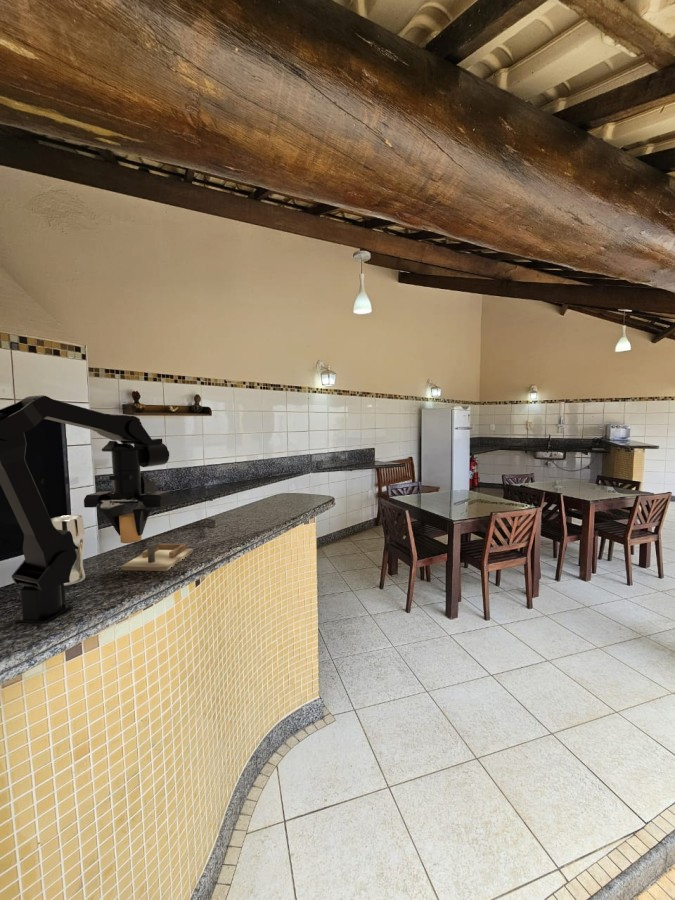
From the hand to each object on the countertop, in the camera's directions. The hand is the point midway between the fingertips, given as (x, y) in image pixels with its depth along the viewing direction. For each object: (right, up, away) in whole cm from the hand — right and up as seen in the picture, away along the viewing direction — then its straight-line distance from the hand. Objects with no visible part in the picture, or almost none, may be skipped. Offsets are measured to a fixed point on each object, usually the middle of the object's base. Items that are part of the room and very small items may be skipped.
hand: (130, 535), depth 93 cm
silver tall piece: (-14, -11, 0) cm, 18 cm away
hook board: (+1, -9, +12) cm, 15 cm away
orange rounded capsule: (0, -1, 0) cm, 1 cm away
